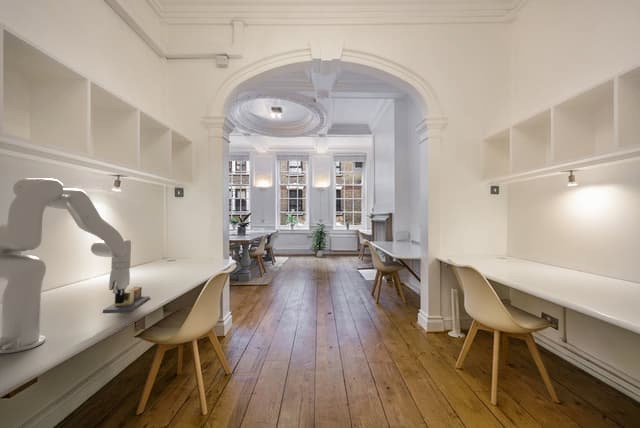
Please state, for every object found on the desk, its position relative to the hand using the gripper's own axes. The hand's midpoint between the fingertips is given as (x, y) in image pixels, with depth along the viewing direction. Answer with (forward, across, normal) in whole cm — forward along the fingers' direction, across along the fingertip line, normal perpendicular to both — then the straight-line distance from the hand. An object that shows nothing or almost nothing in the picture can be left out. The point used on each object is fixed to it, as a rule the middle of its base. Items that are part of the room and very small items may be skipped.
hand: (119, 302), depth 137 cm
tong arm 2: (+2, -12, +1) cm, 13 cm away
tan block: (+2, -5, 0) cm, 5 cm away
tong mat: (+4, -9, 0) cm, 10 cm away
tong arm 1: (+2, -12, -1) cm, 13 cm away
